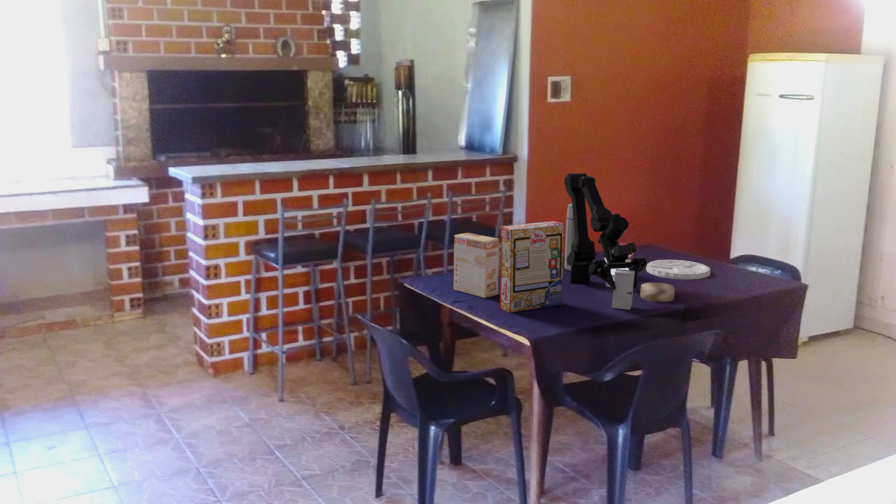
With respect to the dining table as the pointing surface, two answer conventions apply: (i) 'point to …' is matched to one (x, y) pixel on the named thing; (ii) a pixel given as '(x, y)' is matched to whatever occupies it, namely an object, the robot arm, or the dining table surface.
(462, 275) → the coffeecake box
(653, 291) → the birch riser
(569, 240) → the water bottle
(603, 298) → the dining table surface
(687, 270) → the medallion
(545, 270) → the board game box
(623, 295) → the skincare box
